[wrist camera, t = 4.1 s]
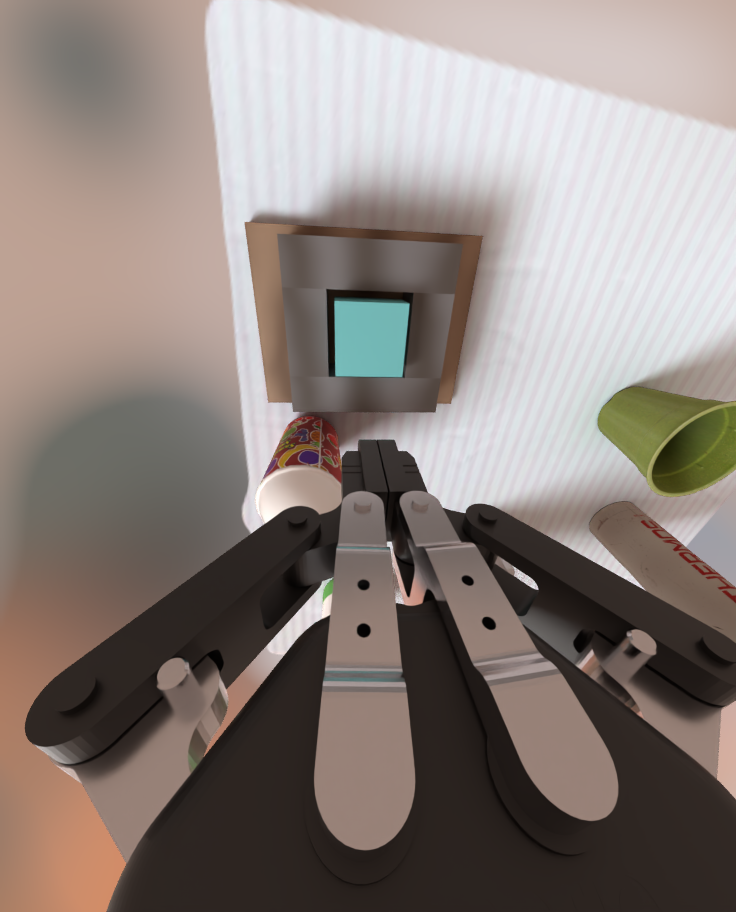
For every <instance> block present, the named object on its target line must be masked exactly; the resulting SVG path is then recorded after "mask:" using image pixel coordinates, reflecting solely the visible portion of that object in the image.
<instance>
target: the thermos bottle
mask: <svg viewBox="0 0 736 912" xmlns="http://www.w3.org/2000/svg"><path fill="white" fill-rule="evenodd" d="M589 529H590V531H591V533H592V534H593V535H594V536H595V537H596V538H597V539H598V540H599V541H600V542H601V543H602V544H603V546H604V547H605V548H606V549H607V550H608V551H609V552H610V553H611V554H612V555H613V556H614V557H615V558H616V559H617V560H618V561H619V562H620V563H621V564H622V565H623V566H624V567H625V568H626V569H627V570H628V571H629V572H630V573H631V575H632V576H633V577H634V578H635V579H636V580H637V581H638V582H639V584H640V585H641V586H642V587H643V588H644V589H645V590H646V591H647V592H649V593H650V594H652V595H654V596H656V597H658V598H659V599H661V600H663V601H665V602H667V603H668V604H670V605H672V606H674V607H676V608H677V609H679V610H681V611H683V612H685V613H686V614H688V615H690V616H692V617H694V618H695V619H697V620H699V621H701V622H703V623H704V624H706V625H708V626H710V627H712V628H713V629H715V630H717V631H719V632H720V633H722V634H724V635H725V636H727V637H728V638H730V639H731V640H732V641H734V642H735V643H736V587H735V586H733V585H732V584H731V583H730V582H728V581H727V580H726V579H725V578H723V577H722V576H721V575H720V574H719V573H717V572H716V571H715V570H713V569H712V568H711V567H710V566H708V565H707V564H706V563H704V562H703V561H702V560H701V559H700V558H698V557H697V556H696V555H695V554H693V553H692V552H691V551H690V550H688V549H687V548H686V547H685V546H684V545H683V544H682V543H680V542H679V541H678V540H677V539H676V538H674V537H673V536H672V535H671V534H669V533H668V532H667V531H666V530H665V529H663V528H662V527H661V526H660V525H658V524H657V523H656V522H655V521H653V520H652V519H651V518H650V517H649V516H647V515H646V514H645V513H644V512H642V511H641V510H640V509H639V508H637V507H636V506H635V505H634V504H632V503H630V502H617V503H613V504H610V505H608V506H606V507H604V508H603V509H601V510H600V511H599V512H597V513H596V514H595V515H594V517H593V518H592V520H591V522H590V525H589Z"/></svg>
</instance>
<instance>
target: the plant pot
mask: <svg viewBox="0 0 736 912" xmlns="http://www.w3.org/2000/svg"><path fill="white" fill-rule="evenodd" d="M598 428H599V430H600V431H601V432H602V433H603V434H604V435H605V436H606V437H607V438H608V439H609V440H610V441H611V442H612V443H613V444H614V445H615V446H616V447H617V448H618V449H619V450H621V451H622V452H623V453H624V454H625V455H626V456H627V457H628V458H629V459H630V460H631V461H632V462H633V463H634V464H635V465H636V466H637V467H638V470H639V471H640V472H641V473H642V474H643V475H644V476H645V477H646V479H647V483H648V485H649V487H650V488H651V490H653V491H654V492H655V493H657V494H659V495H662V496H666V497H679V496H684V495H689V494H693V493H696V492H697V491H700V490H703V489H705V488H708V487H710V486H711V485H713V484H715V483H717V482H718V481H720V480H722V479H723V478H725V477H726V476H728V475H729V474H730V473H732V472H733V471H734V470H735V469H736V401H731V402H721V401H716V400H701V399H696V398H691V397H687V396H682V395H677V394H672V393H667V392H663V391H658V390H653V389H648V388H643V387H631V388H627V389H624V390H622V391H620V392H618V393H617V394H615V395H614V396H613V398H612V399H611V400H610V401H609V402H608V403H607V404H605V405H604V406H603V408H602V409H601V411H600V413H599V416H598Z"/></svg>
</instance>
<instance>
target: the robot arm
mask: <svg viewBox="0 0 736 912" xmlns="http://www.w3.org/2000/svg"><path fill="white" fill-rule="evenodd" d="M341 495H342V502H341V504H340V505H339V506H338V507H337V508H335V509H334V510H332V511H330V512H327V513H323V514H319V513H318V512H317V511H316V510H314V509H313V508H310V507H307V506H294V507H290V508H287V509H285V510H283V511H282V512H280V513H279V514H278V515H276V516H275V517H273V518H272V519H271V520H269V521H268V522H267V523H265V524H264V525H263V526H261V527H260V528H258V529H257V530H256V531H254V532H253V533H252V534H250V535H249V536H248V537H246V538H245V539H243V540H242V541H241V542H239V543H238V544H237V545H235V546H234V547H232V548H231V549H230V550H228V551H227V552H226V553H224V554H223V555H221V556H220V557H219V558H217V559H216V560H215V561H213V562H212V563H210V564H209V565H208V566H206V567H205V568H204V569H203V570H201V571H200V572H198V573H197V574H195V575H194V576H193V577H191V578H190V579H189V580H187V581H186V582H185V583H183V584H182V585H181V586H179V587H178V588H176V589H175V590H174V591H172V592H171V593H169V594H168V595H167V596H166V597H164V598H163V599H161V600H160V601H158V602H157V603H156V604H154V605H153V606H152V607H150V608H149V609H148V610H146V611H145V612H143V613H142V614H141V615H139V616H138V617H137V618H135V619H134V620H132V621H131V622H130V623H128V624H127V625H126V626H124V627H123V628H122V629H120V630H119V631H117V632H116V633H115V634H113V635H112V636H111V637H109V638H108V639H106V640H105V641H104V642H102V643H101V644H100V645H98V646H97V647H96V648H94V649H93V650H92V651H90V652H89V653H87V654H86V655H84V656H83V657H82V658H80V659H79V660H78V661H76V662H75V663H74V664H72V665H71V666H70V667H68V668H67V669H65V670H64V671H63V672H61V673H60V674H59V675H58V676H56V677H55V678H54V679H53V680H52V681H51V682H50V683H49V684H48V685H47V686H46V687H45V688H44V689H43V690H42V692H41V693H40V694H39V695H38V697H37V698H36V699H35V701H34V703H33V705H32V706H31V708H30V710H29V712H28V715H27V718H26V722H25V733H26V736H27V738H28V740H29V741H30V742H31V743H32V744H34V745H35V746H36V747H38V748H39V749H41V750H42V751H43V752H45V753H46V754H48V756H49V758H50V760H51V761H52V762H53V763H54V764H55V765H56V766H58V767H59V768H60V769H62V770H63V771H65V772H66V773H67V774H69V775H70V776H72V777H73V778H74V779H76V780H77V781H79V782H80V783H82V785H83V787H84V788H85V790H86V792H87V794H88V796H89V797H90V799H91V801H92V803H93V804H94V806H95V808H96V810H97V811H98V813H99V815H100V817H101V819H102V821H103V822H104V824H105V826H106V828H107V830H108V831H109V833H110V835H111V837H112V839H113V840H114V842H115V844H116V846H117V848H118V849H119V851H120V853H121V855H122V856H123V858H124V860H125V862H126V866H125V868H124V870H123V872H122V874H121V877H120V879H119V881H118V883H117V886H116V888H115V890H114V893H113V895H112V898H111V900H110V903H109V906H108V909H107V912H736V799H735V798H734V797H733V796H732V795H731V794H730V793H729V791H728V790H727V789H726V788H725V787H724V786H723V785H722V784H721V783H720V782H719V781H718V780H717V768H718V752H719V751H718V750H719V737H720V720H721V710H722V709H723V708H725V707H727V706H728V705H729V704H731V703H732V702H734V701H736V643H735V642H734V641H732V640H731V639H730V638H728V637H727V636H725V635H724V634H722V633H720V632H719V631H717V630H715V629H713V628H712V627H710V626H708V625H706V624H704V623H703V622H701V621H699V620H697V619H695V618H694V617H692V616H690V615H688V614H686V613H685V612H683V611H681V610H679V609H677V608H676V607H674V606H672V605H670V604H668V603H667V602H665V601H663V600H661V599H659V598H658V597H656V596H654V595H652V594H650V593H649V592H647V591H645V590H643V589H642V588H640V587H638V586H636V585H634V584H633V583H631V582H629V581H627V580H625V579H624V578H622V577H620V576H618V575H616V574H615V573H613V572H611V571H609V570H607V569H606V568H604V567H602V566H600V565H598V564H597V563H595V562H593V561H591V560H589V559H588V558H586V557H584V556H582V555H580V554H579V553H577V552H575V551H573V550H571V549H570V548H568V547H566V546H564V545H562V544H561V543H559V542H557V541H555V540H553V539H552V538H550V537H548V536H546V535H544V534H543V533H541V532H539V531H537V530H535V529H534V528H532V527H530V526H528V525H526V524H525V523H523V522H521V521H519V520H517V519H516V518H514V517H512V516H510V515H508V514H507V513H505V512H503V511H501V510H499V509H498V508H495V507H493V506H490V505H487V504H474V505H471V506H469V507H468V508H467V510H466V513H461V512H456V511H451V510H448V509H445V508H442V506H441V504H440V502H439V501H438V499H437V498H436V497H434V496H433V495H431V494H429V493H428V492H427V489H426V487H425V484H424V482H423V479H422V477H421V474H420V473H419V469H418V467H417V464H416V462H415V459H414V457H412V456H411V455H410V454H409V453H408V452H407V451H398V449H397V446H396V443H395V440H377V441H376V440H359V441H358V451H346V453H345V454H344V455H343V457H342V471H341ZM388 541H392V545H393V551H392V559H391V551H390V547H387V542H388ZM392 562H393V565H394V569H395V572H396V576H397V580H398V583H399V587H400V590H401V594H402V597H403V601H404V604H398V603H396V602H395V591H394V581H393V570H392ZM512 566H514V567H516V568H517V569H519V570H520V571H522V572H523V573H525V574H526V575H528V576H529V577H531V578H532V579H533V580H534V581H535V582H536V584H537V586H538V589H539V590H535V589H533V588H531V587H529V586H528V585H526V584H525V583H523V582H522V581H520V580H519V579H517V578H516V577H514V573H515V571H514V569H513V567H512ZM332 577H334V581H333V591H332V602H331V613H330V615H329V616H327V617H325V618H322V619H321V620H319V621H318V622H316V623H314V624H313V625H312V626H310V627H309V628H308V629H307V630H306V631H305V632H304V633H303V634H302V635H301V636H299V638H298V639H297V640H296V641H295V642H294V644H293V645H292V646H291V648H290V649H289V650H288V651H287V653H286V654H285V655H284V656H283V658H282V659H281V660H280V661H279V663H278V664H277V665H276V667H275V668H274V669H273V670H272V672H271V673H270V674H269V676H268V677H267V678H266V679H265V680H264V682H263V683H262V684H261V685H260V687H259V688H258V689H257V691H256V692H255V693H254V695H253V696H252V697H251V698H250V699H249V701H248V702H247V703H246V704H245V706H244V707H243V708H242V710H241V711H240V712H239V713H238V715H237V716H236V717H235V718H234V720H233V721H232V722H231V723H230V725H229V726H228V727H227V728H226V730H225V731H224V732H223V734H222V735H221V736H220V737H219V739H218V740H217V741H216V742H215V744H214V745H213V746H212V748H211V749H210V750H209V751H208V753H207V754H206V755H205V756H204V754H205V752H206V749H207V747H208V745H209V743H210V741H211V739H212V738H213V736H214V735H215V733H216V732H217V730H218V729H219V728H220V726H221V724H222V722H223V720H224V717H225V715H226V712H227V708H228V694H227V690H226V689H227V688H228V687H229V686H230V685H231V684H232V683H233V682H234V681H235V680H236V678H237V677H238V676H239V675H240V674H241V673H242V672H243V671H244V670H245V669H246V667H247V666H248V665H249V664H250V663H251V662H252V661H253V660H254V659H255V658H256V657H257V655H258V654H259V653H260V652H261V651H262V650H263V649H264V648H265V647H266V646H267V644H268V643H269V642H270V641H271V640H272V639H273V638H274V637H275V636H276V635H277V634H278V632H279V631H280V630H281V629H282V628H283V627H284V626H285V625H286V624H287V623H288V621H289V620H290V619H291V618H292V617H293V616H294V615H295V614H296V613H297V612H298V610H299V609H300V608H301V607H302V606H303V605H304V604H305V603H306V602H307V601H308V600H309V598H310V597H311V596H312V595H313V594H314V593H315V592H316V591H317V590H318V588H319V587H320V585H321V583H322V581H324V580H327V579H329V578H332Z"/></svg>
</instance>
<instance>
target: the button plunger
mask: <svg viewBox="0 0 736 912" xmlns="http://www.w3.org/2000/svg"><path fill="white" fill-rule="evenodd" d="M409 305H410V304H409V303H407V302H406V301H404V300H402V299H388V298H361V297H335V376H354V377H402V375H403V365H404V355H405V345H406V335H407V325H408V315H409Z"/></svg>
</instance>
